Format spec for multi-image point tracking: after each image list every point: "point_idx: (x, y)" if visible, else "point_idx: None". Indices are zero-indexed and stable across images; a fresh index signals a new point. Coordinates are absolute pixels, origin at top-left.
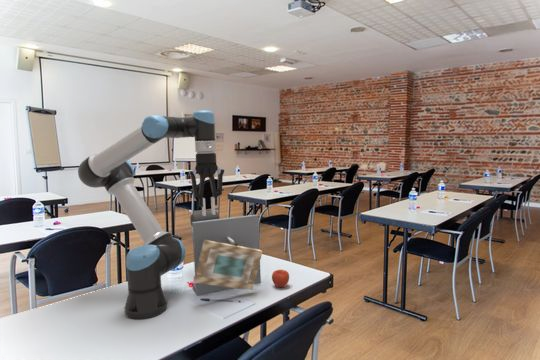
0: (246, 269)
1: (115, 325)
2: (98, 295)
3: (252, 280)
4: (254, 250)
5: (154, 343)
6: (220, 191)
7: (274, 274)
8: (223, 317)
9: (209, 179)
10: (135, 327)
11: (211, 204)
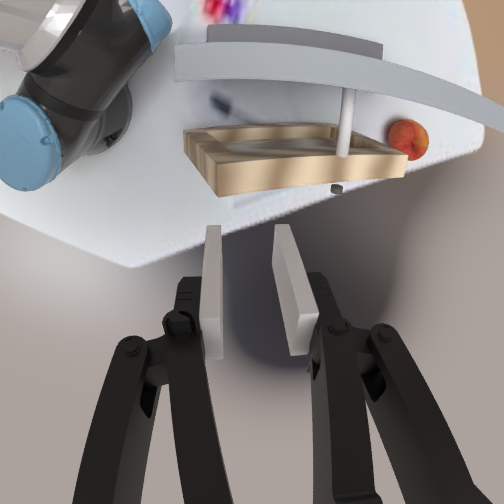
0: None
1: None
2: None
3: None
4: (384, 177)
5: (114, 236)
6: (373, 384)
7: (400, 143)
8: (233, 203)
9: (332, 500)
10: (79, 177)
11: (286, 275)
